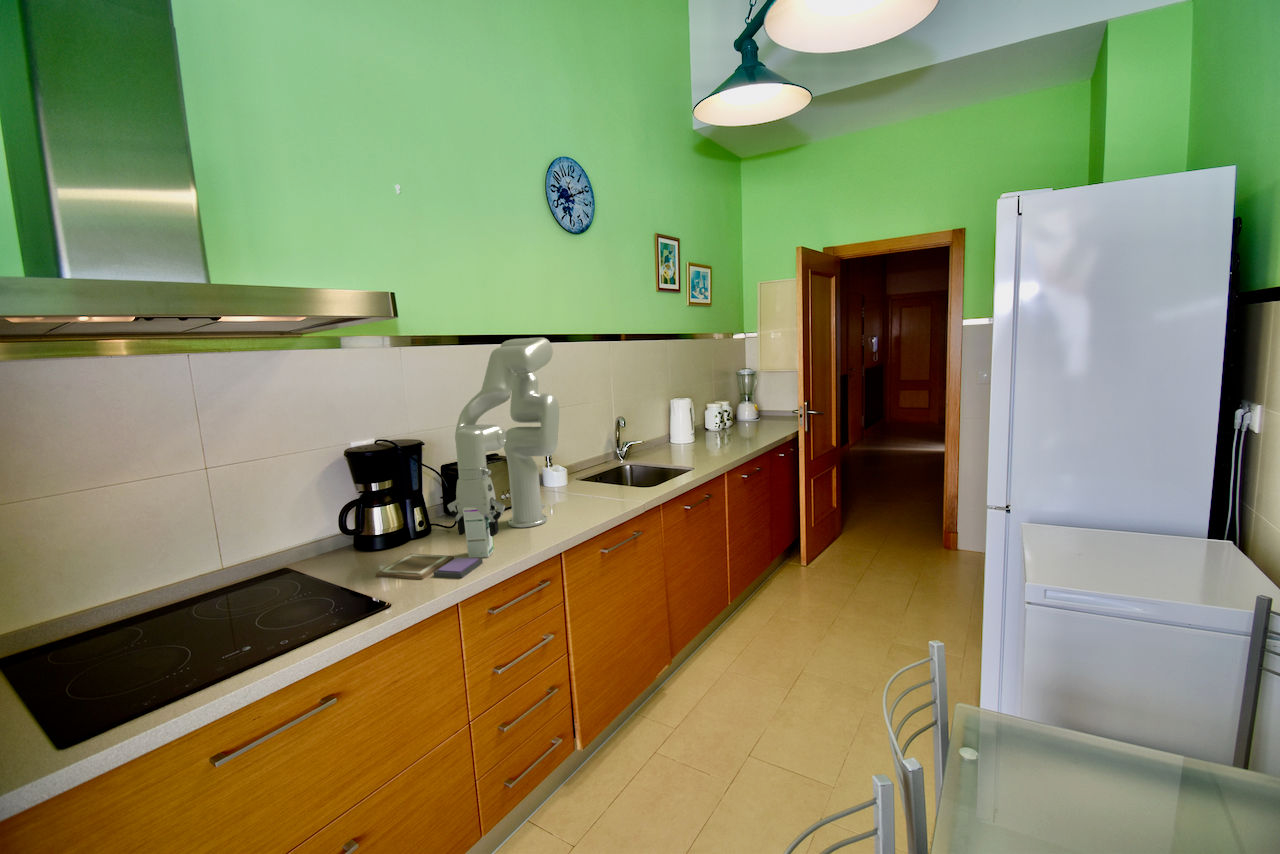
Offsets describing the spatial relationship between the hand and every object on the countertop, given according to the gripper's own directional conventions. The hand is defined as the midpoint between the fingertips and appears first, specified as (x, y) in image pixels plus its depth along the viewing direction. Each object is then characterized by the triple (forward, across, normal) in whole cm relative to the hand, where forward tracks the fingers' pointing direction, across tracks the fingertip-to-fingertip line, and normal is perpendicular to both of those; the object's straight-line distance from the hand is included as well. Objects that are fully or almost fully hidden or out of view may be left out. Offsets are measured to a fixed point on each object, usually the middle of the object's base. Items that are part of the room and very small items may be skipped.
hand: (478, 534), depth 155 cm
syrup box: (+6, 0, 0) cm, 6 cm away
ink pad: (+6, 0, +11) cm, 12 cm away
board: (+6, +13, +11) cm, 18 cm away
